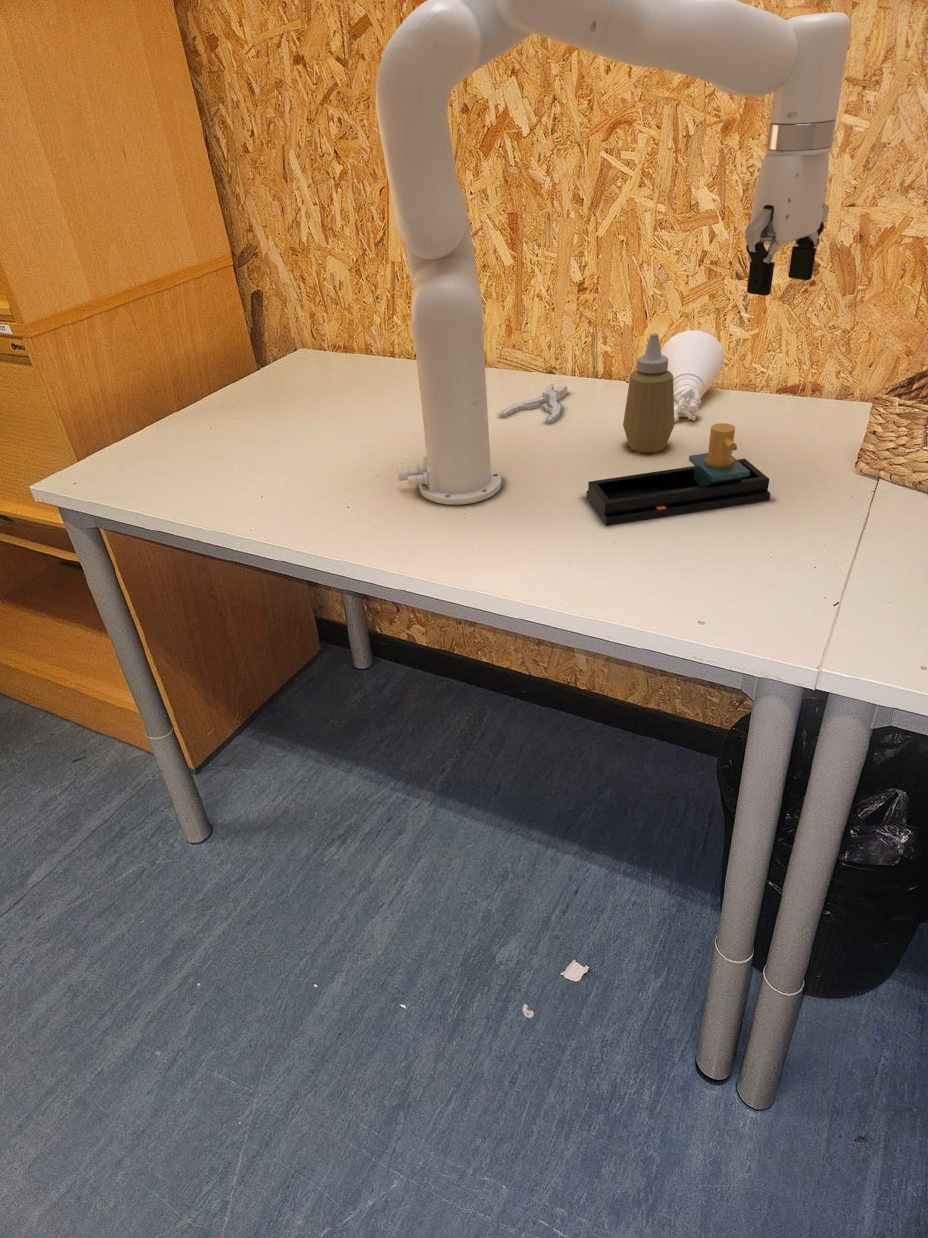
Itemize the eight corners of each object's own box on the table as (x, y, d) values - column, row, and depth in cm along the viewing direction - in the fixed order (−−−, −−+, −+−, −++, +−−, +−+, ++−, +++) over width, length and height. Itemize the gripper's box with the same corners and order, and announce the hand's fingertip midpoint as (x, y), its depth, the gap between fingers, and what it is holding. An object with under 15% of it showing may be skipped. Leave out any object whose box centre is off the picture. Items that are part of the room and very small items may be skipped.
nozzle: (710, 498, 114) (716, 440, 109) (687, 475, 120) (692, 420, 115) (747, 492, 114) (756, 435, 110) (723, 470, 121) (729, 415, 116)
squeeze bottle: (672, 457, 129) (682, 342, 119) (620, 456, 131) (625, 342, 121) (672, 437, 136) (681, 326, 126) (623, 436, 137) (628, 327, 127)
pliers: (500, 408, 148) (535, 381, 158) (501, 417, 148) (535, 389, 159) (550, 415, 143) (583, 387, 154) (550, 423, 144) (583, 395, 155)
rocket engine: (689, 371, 133) (698, 317, 144) (634, 410, 141) (646, 355, 152) (732, 420, 137) (737, 363, 148) (676, 454, 145) (685, 398, 156)
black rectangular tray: (606, 525, 112) (606, 506, 111) (586, 497, 120) (586, 479, 118) (769, 500, 115) (772, 481, 114) (740, 474, 123) (742, 456, 121)
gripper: (810, 130, 106) (790, 270, 116) (731, 146, 98) (716, 296, 108) (866, 130, 102) (839, 276, 111) (788, 148, 93) (767, 304, 103)
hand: (779, 286), depth 109 cm, fingers open, 9 cm apart
